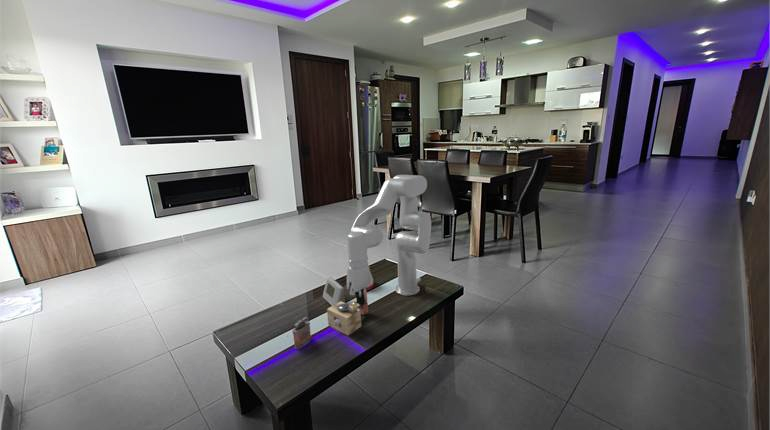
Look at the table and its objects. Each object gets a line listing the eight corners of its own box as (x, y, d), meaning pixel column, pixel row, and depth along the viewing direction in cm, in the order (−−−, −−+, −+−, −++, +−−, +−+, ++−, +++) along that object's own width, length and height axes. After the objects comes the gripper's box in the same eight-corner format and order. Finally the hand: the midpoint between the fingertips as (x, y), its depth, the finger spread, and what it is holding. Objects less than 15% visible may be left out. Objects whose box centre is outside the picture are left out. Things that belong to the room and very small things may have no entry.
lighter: (298, 350, 123) (295, 327, 120) (292, 347, 124) (289, 324, 122) (313, 338, 129) (311, 316, 127) (307, 336, 131) (305, 314, 129)
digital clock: (322, 296, 163) (320, 277, 160) (339, 293, 166) (338, 274, 164) (329, 312, 148) (327, 291, 146) (348, 308, 152) (346, 287, 149)
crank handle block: (343, 304, 139) (343, 293, 137) (361, 311, 132) (360, 301, 131) (335, 309, 135) (334, 298, 134) (352, 317, 128) (351, 306, 127)
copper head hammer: (363, 309, 148) (362, 287, 146) (369, 312, 146) (368, 289, 143) (333, 329, 134) (331, 304, 132) (339, 332, 132) (336, 307, 129)
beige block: (342, 317, 144) (340, 301, 142) (361, 326, 136) (360, 309, 134) (328, 325, 138) (327, 308, 136) (347, 335, 130) (346, 318, 128)
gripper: (364, 255, 137) (366, 293, 142) (338, 266, 126) (341, 308, 131) (377, 258, 133) (379, 298, 137) (351, 270, 121) (354, 314, 126)
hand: (360, 303), depth 134 cm, fingers closed
